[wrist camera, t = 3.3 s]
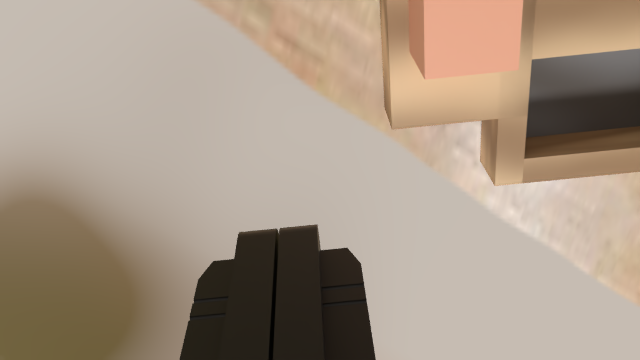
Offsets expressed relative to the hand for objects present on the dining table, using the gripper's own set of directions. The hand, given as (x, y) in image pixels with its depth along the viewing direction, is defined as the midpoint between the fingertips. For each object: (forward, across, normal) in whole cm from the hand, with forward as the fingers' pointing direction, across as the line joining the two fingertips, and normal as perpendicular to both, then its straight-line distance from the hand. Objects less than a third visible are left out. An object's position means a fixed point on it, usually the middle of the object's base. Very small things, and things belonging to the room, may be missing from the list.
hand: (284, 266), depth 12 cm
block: (+19, -8, 0) cm, 20 cm away
